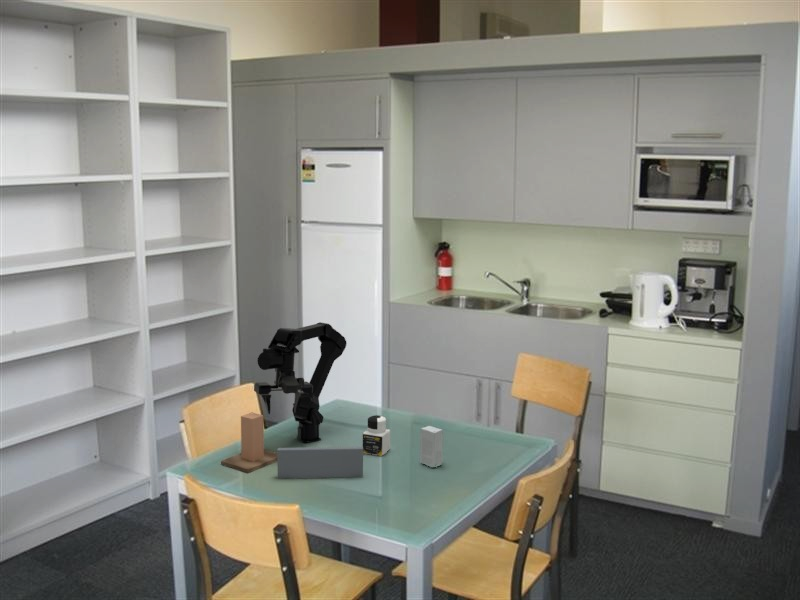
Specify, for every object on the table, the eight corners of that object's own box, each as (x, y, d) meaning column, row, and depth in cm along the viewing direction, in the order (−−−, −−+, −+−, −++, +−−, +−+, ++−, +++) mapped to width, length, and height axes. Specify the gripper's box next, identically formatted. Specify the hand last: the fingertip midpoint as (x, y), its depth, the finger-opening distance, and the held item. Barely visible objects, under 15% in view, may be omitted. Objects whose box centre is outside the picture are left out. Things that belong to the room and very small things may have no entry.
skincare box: (442, 465, 270) (443, 429, 268) (433, 469, 267) (434, 432, 265) (428, 460, 274) (429, 425, 272) (419, 463, 271) (420, 428, 269)
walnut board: (257, 450, 281) (257, 447, 280) (283, 458, 274) (283, 454, 274) (221, 464, 268) (221, 460, 268) (248, 473, 261) (248, 469, 261)
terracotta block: (263, 457, 271) (263, 415, 269) (252, 461, 267) (252, 419, 265) (252, 453, 274) (252, 412, 272) (241, 458, 270) (240, 416, 268)
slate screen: (278, 471, 263) (278, 443, 262) (361, 469, 266) (362, 442, 264) (277, 478, 257) (277, 450, 256) (362, 476, 260) (363, 448, 258)
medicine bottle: (362, 453, 280) (362, 418, 278) (370, 446, 286) (371, 412, 284) (381, 456, 277) (382, 421, 275) (390, 449, 284) (390, 415, 282)
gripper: (265, 372, 266) (262, 420, 268) (320, 371, 275) (317, 418, 276) (254, 365, 276) (252, 412, 278) (308, 364, 285) (305, 410, 286)
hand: (282, 413), depth 279 cm, fingers open, 9 cm apart
